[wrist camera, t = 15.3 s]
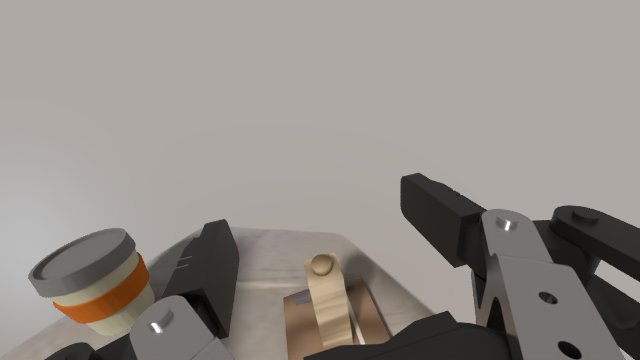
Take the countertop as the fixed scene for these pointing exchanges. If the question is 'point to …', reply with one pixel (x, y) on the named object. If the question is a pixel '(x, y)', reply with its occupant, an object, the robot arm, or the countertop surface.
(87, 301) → the reusable coffee cup
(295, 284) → the countertop surface
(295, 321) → the walnut board
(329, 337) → the wooden pepper mill
